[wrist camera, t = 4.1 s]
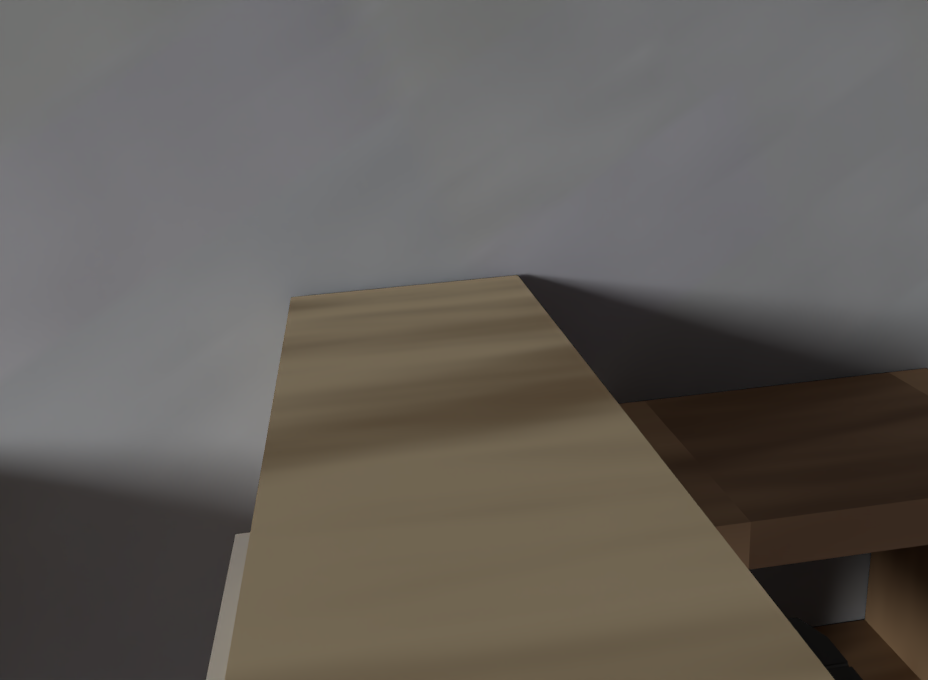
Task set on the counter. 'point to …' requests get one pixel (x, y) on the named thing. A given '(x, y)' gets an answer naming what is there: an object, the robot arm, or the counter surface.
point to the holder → (817, 491)
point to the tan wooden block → (479, 512)
